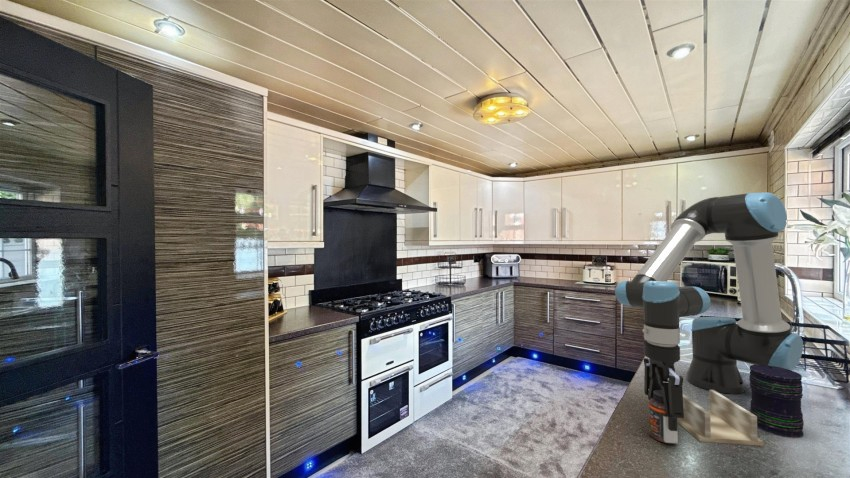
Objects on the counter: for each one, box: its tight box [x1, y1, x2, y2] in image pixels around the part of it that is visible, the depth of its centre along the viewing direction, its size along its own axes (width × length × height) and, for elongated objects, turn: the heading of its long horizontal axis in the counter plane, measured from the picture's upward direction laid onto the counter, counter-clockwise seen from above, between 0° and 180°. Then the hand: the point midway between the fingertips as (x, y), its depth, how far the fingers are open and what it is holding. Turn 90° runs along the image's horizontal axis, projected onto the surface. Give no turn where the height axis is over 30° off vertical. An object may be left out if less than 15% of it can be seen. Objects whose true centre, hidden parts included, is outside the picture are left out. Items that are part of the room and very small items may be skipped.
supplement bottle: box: [648, 390, 679, 445], centre depth 85 cm, size 6×6×11 cm
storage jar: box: [748, 364, 805, 439], centre depth 90 cm, size 10×10×15 cm
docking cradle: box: [678, 390, 765, 447], centre depth 90 cm, size 15×14×7 cm
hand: (663, 434), depth 85 cm, fingers closed on supplement bottle, 6 cm apart
